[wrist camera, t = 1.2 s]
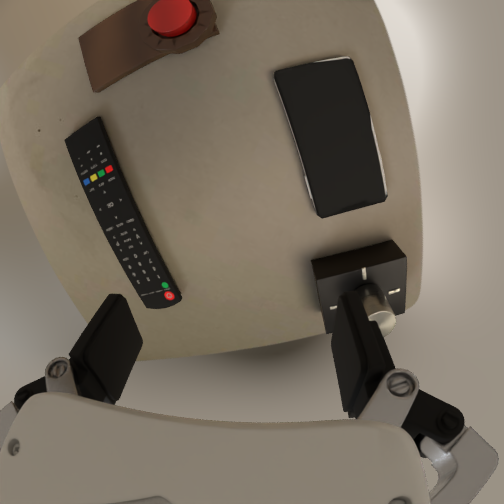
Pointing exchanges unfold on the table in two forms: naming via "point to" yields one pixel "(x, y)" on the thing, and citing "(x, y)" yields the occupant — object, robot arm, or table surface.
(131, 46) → the switch block
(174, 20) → the light button
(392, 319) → the dimmer knob
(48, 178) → the table surface
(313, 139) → the smartphone
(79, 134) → the remote control
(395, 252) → the dimmer panel
